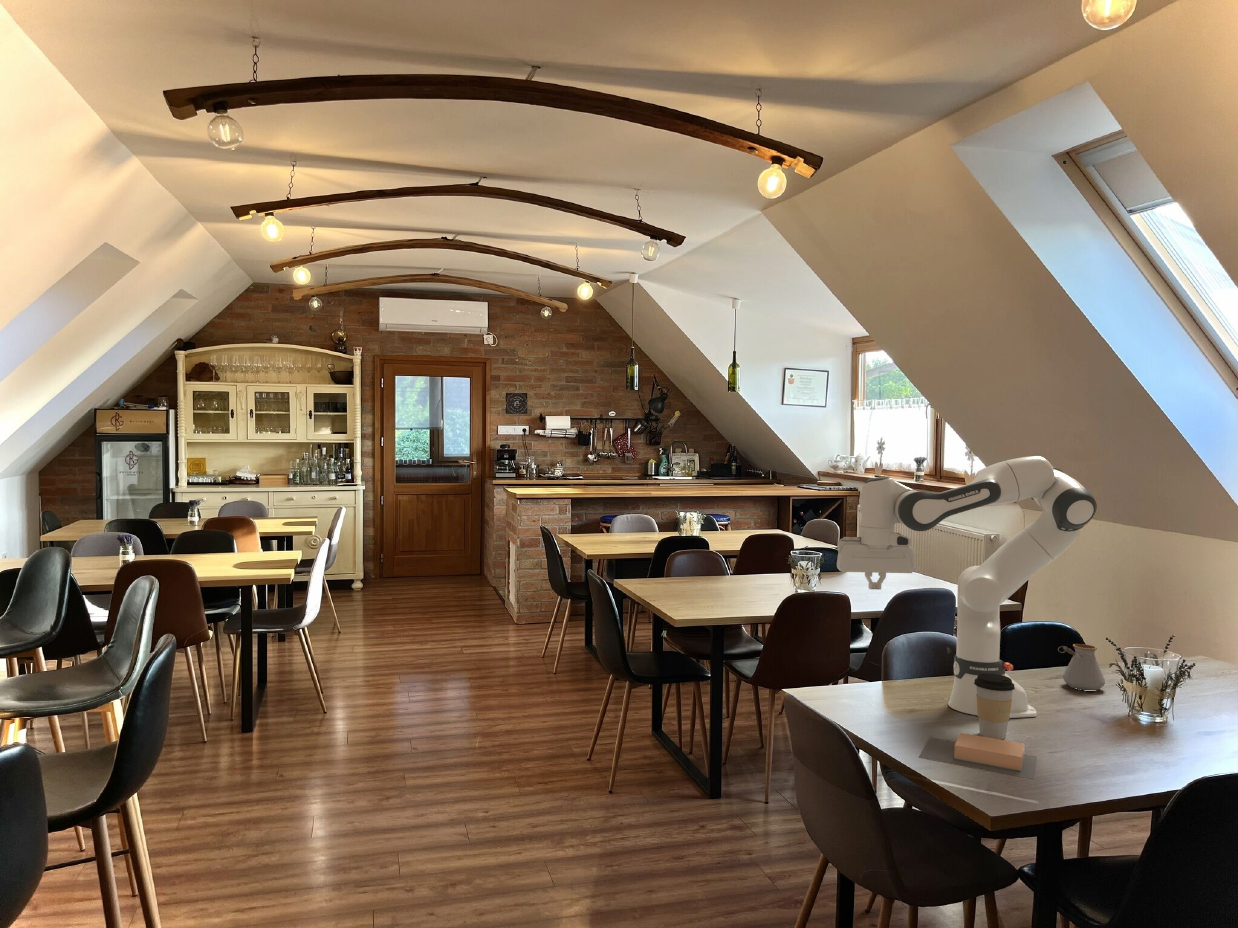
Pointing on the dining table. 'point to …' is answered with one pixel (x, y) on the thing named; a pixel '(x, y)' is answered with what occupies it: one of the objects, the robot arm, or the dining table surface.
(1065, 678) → the coffee pot
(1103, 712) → the dining table surface
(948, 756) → the mat
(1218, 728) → the dining table surface
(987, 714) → the coffee cup
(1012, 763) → the block
